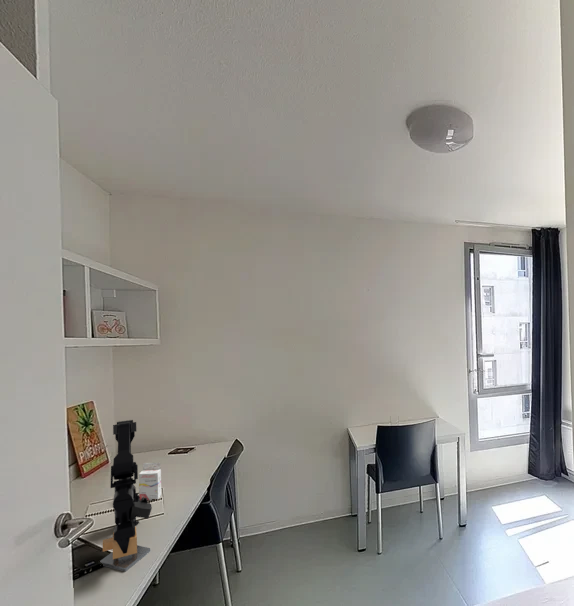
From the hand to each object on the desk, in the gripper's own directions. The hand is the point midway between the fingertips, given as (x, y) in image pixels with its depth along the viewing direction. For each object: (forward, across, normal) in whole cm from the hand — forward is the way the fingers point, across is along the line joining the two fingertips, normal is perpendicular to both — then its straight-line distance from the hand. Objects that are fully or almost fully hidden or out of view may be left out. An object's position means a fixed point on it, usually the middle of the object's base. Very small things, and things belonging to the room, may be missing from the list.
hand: (125, 546), depth 125 cm
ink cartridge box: (+4, +43, -11) cm, 45 cm away
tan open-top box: (+1, 0, +1) cm, 2 cm away
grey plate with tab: (+4, 0, 0) cm, 4 cm away
